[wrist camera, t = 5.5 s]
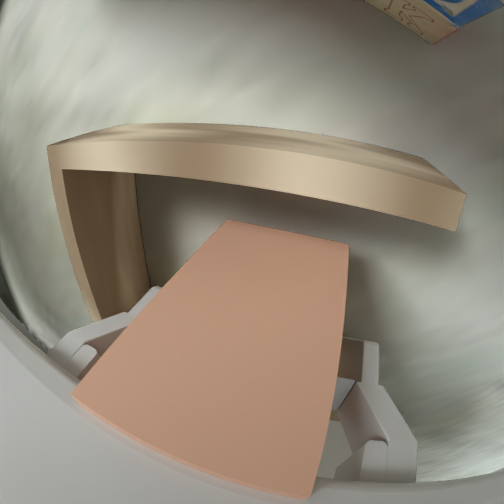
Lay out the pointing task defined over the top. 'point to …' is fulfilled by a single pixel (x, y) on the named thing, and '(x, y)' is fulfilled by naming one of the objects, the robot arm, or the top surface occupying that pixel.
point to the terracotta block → (233, 360)
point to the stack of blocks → (435, 14)
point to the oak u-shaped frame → (219, 170)
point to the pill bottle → (333, 450)
